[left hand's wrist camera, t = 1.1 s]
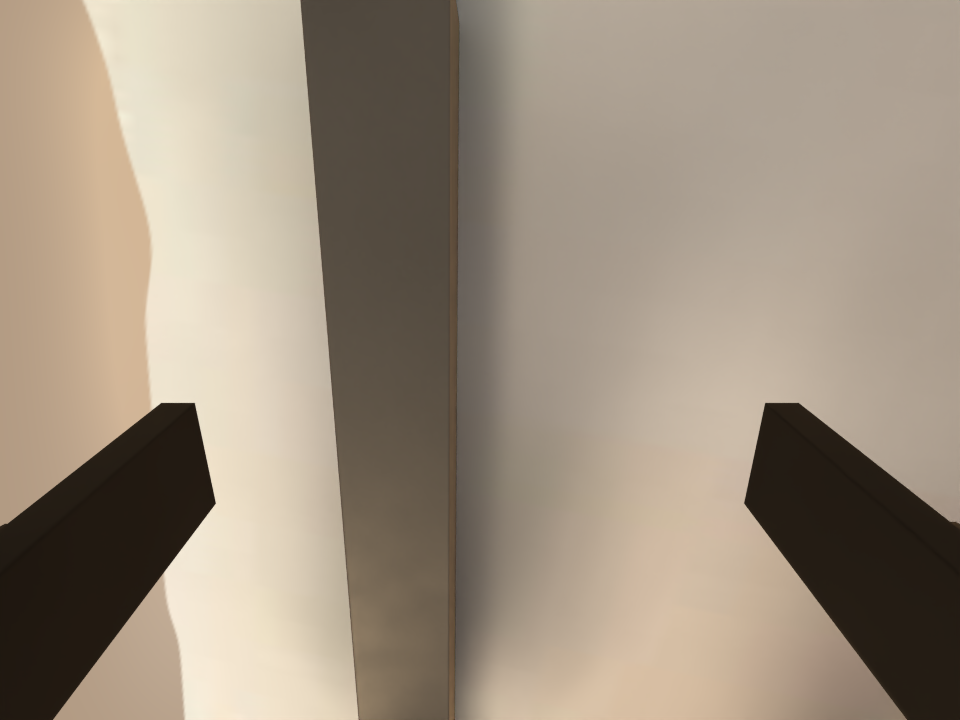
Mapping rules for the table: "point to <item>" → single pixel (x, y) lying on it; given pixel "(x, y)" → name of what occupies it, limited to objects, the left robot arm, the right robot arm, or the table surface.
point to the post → (392, 330)
